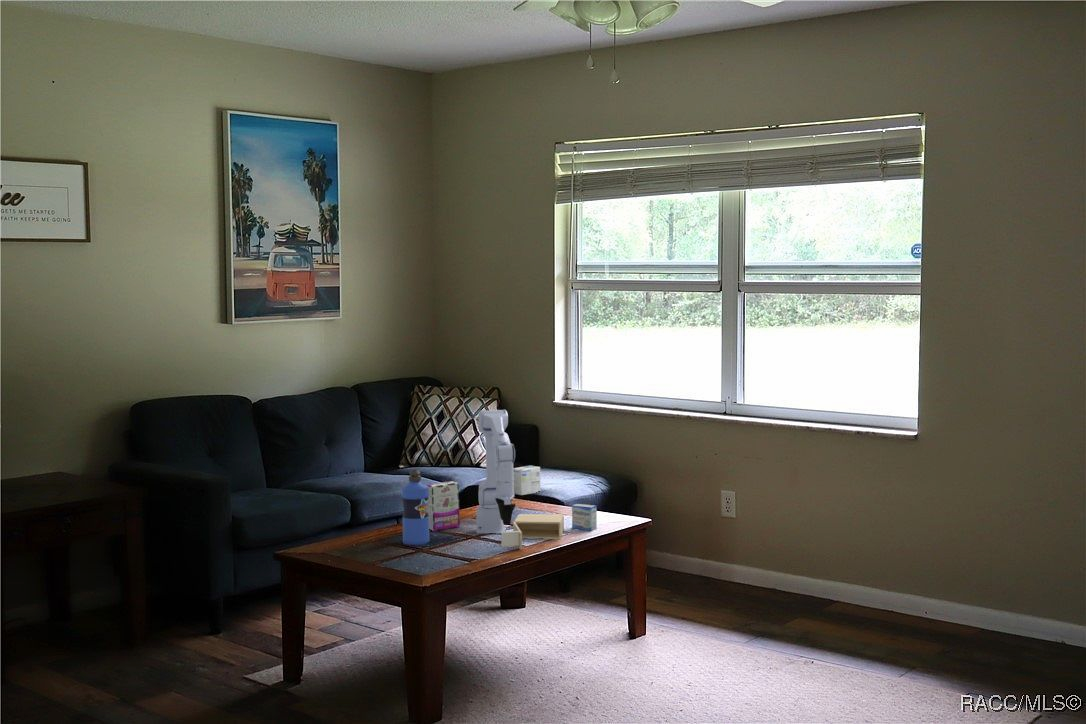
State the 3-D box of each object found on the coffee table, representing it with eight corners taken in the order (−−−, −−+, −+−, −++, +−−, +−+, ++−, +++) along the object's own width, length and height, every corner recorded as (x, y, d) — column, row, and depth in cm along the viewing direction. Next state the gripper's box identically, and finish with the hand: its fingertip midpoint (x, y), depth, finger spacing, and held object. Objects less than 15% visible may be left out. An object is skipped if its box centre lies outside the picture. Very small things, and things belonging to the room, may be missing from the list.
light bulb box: (531, 489, 457) (530, 464, 456) (541, 492, 451) (541, 466, 451) (511, 493, 450) (511, 467, 449) (521, 495, 445) (521, 469, 444)
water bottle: (435, 540, 367) (434, 468, 365) (417, 546, 359) (416, 473, 357) (414, 537, 372) (413, 466, 370) (396, 543, 364) (395, 470, 363)
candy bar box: (452, 524, 391) (452, 480, 390) (460, 527, 387) (459, 482, 386) (426, 529, 385) (425, 484, 383) (433, 531, 381) (432, 486, 379)
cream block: (496, 539, 367) (495, 522, 367) (515, 538, 368) (514, 521, 368) (502, 550, 351) (502, 533, 351) (522, 549, 352) (521, 532, 352)
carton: (514, 538, 369) (514, 521, 368) (519, 530, 381) (518, 514, 380) (560, 539, 367) (560, 522, 366) (563, 531, 379) (563, 514, 378)
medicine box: (571, 529, 382) (571, 505, 381) (577, 526, 386) (576, 503, 385) (591, 531, 378) (591, 507, 377) (597, 528, 382) (596, 505, 381)
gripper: (490, 477, 358) (491, 517, 359) (494, 485, 344) (495, 527, 345) (511, 477, 359) (512, 516, 360) (516, 484, 345) (517, 526, 346)
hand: (505, 521), depth 352 cm, fingers open, 7 cm apart
